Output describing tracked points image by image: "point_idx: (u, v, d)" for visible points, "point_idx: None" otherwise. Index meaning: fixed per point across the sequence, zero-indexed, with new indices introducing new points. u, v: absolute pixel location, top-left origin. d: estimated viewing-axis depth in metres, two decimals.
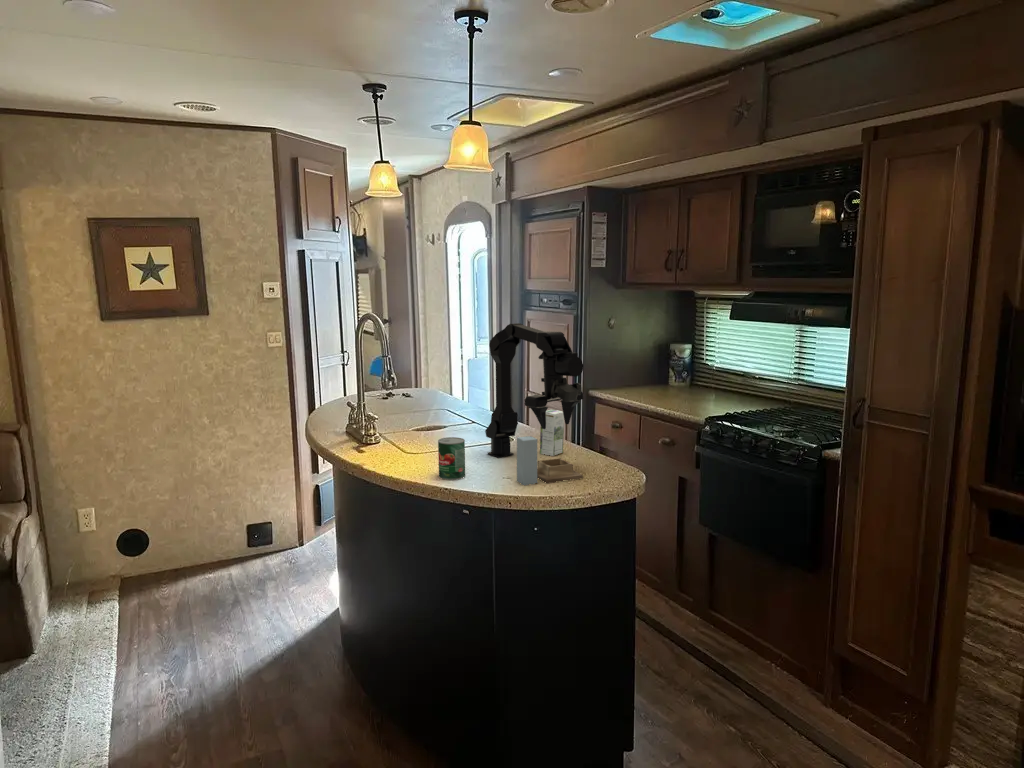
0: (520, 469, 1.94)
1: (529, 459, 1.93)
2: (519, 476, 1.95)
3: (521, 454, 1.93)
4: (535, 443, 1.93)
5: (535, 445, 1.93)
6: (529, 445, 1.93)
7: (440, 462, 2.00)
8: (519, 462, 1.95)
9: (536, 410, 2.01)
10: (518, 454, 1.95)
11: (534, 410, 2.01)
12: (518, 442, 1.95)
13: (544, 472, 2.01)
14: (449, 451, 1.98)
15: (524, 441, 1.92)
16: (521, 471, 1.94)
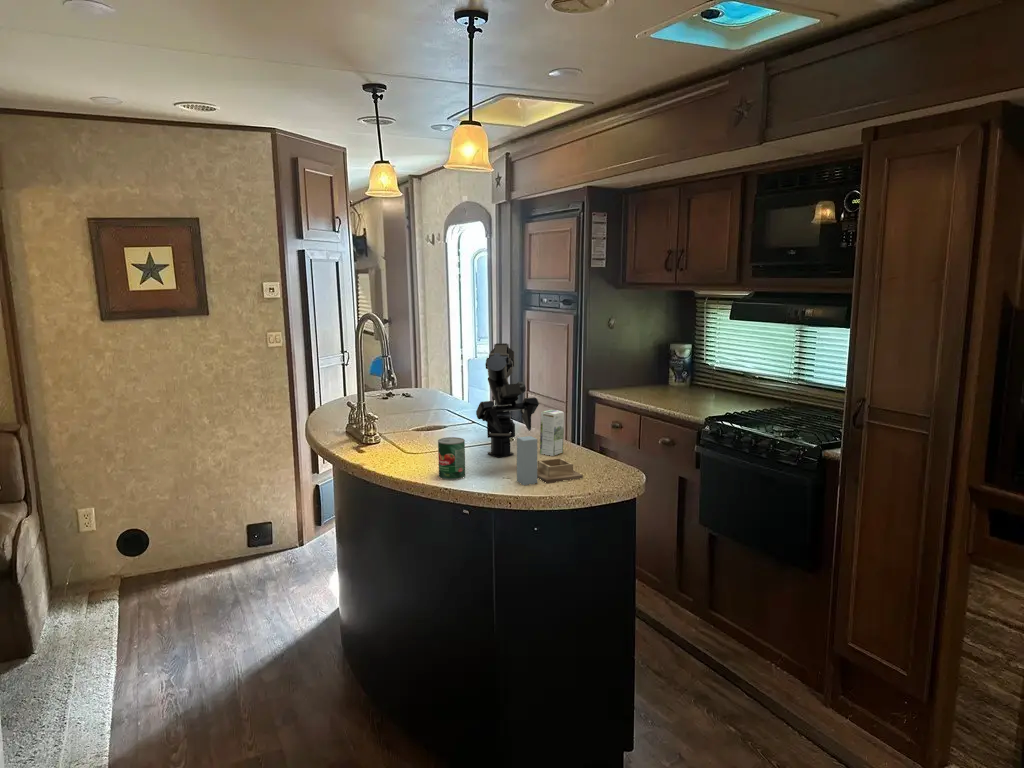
0: (520, 469, 1.94)
1: (529, 459, 1.93)
2: (519, 476, 1.95)
3: (521, 454, 1.93)
4: (535, 443, 1.93)
5: (535, 445, 1.93)
6: (529, 445, 1.93)
7: (440, 462, 2.00)
8: (519, 462, 1.95)
9: (490, 419, 2.03)
10: (518, 454, 1.95)
11: (488, 421, 2.03)
12: (518, 442, 1.95)
13: (544, 472, 2.01)
14: (449, 451, 1.98)
15: (524, 441, 1.92)
16: (521, 471, 1.94)
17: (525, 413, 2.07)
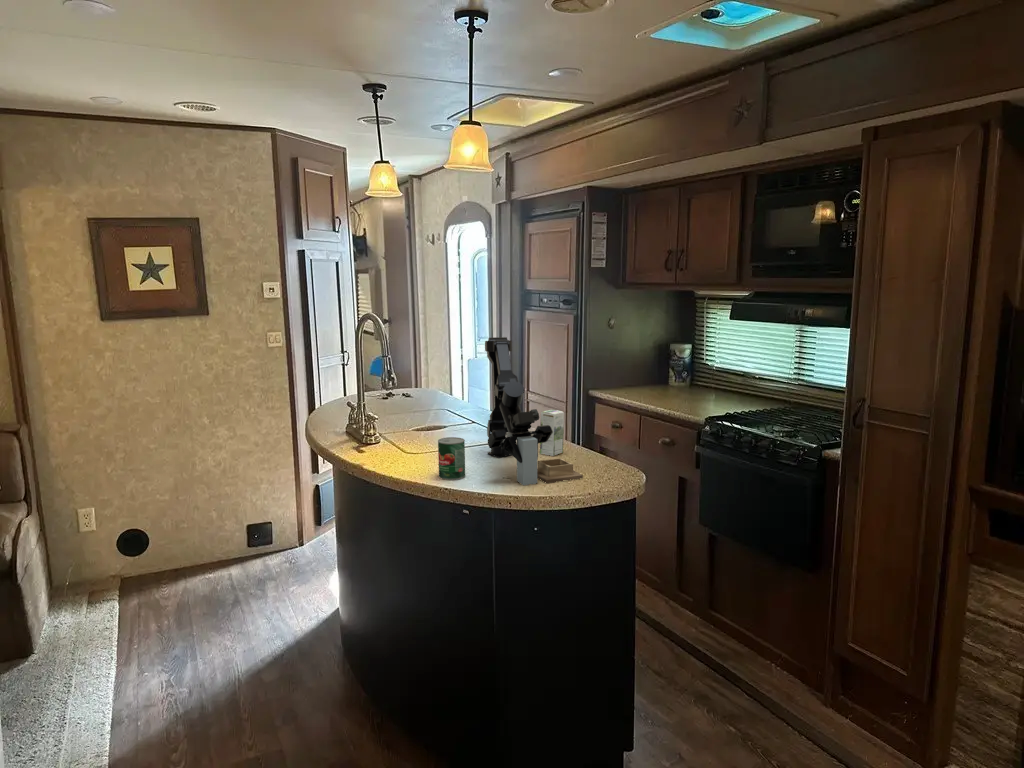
0: (520, 469, 1.94)
1: (529, 459, 1.93)
2: (519, 476, 1.95)
3: (521, 453, 1.93)
4: (535, 443, 1.93)
5: (535, 445, 1.93)
6: (530, 445, 1.93)
7: (440, 462, 2.00)
8: (519, 462, 1.95)
9: (509, 448, 1.96)
10: None
11: (508, 449, 1.97)
12: (518, 442, 1.95)
13: (544, 472, 2.01)
14: (449, 451, 1.98)
15: (524, 441, 1.92)
16: (521, 471, 1.94)
17: None
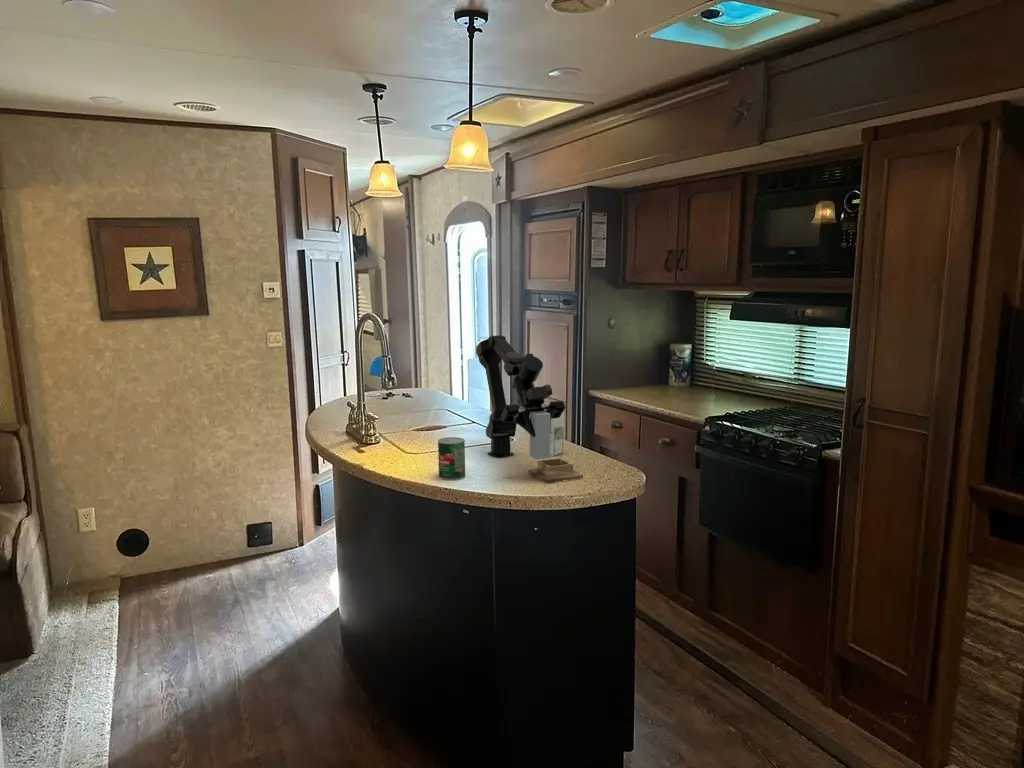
0: (533, 443, 1.97)
1: (542, 433, 1.95)
2: (532, 450, 1.98)
3: (534, 428, 1.95)
4: (548, 418, 1.95)
5: (548, 420, 1.96)
6: (542, 420, 1.95)
7: (440, 462, 2.00)
8: (532, 436, 1.97)
9: (522, 422, 1.99)
10: None
11: (521, 424, 1.99)
12: (531, 417, 1.97)
13: (544, 472, 2.01)
14: (449, 451, 1.98)
15: (537, 415, 1.94)
16: (534, 445, 1.96)
17: None
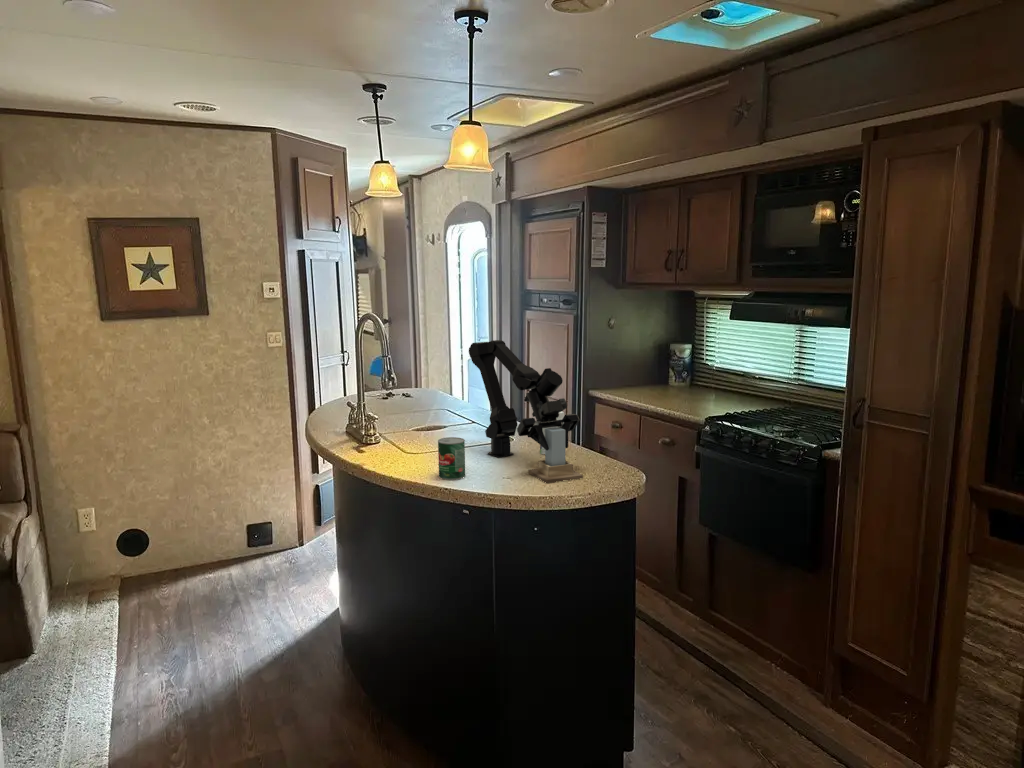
0: (549, 459, 2.01)
1: (557, 449, 2.00)
2: None
3: (550, 444, 2.00)
4: (563, 434, 2.00)
5: (563, 436, 2.00)
6: (558, 436, 2.00)
7: (440, 462, 2.00)
8: (548, 452, 2.02)
9: (535, 436, 2.03)
10: None
11: (534, 437, 2.03)
12: (546, 433, 2.02)
13: (544, 472, 2.01)
14: (449, 451, 1.98)
15: (553, 432, 1.99)
16: (550, 461, 2.01)
17: None
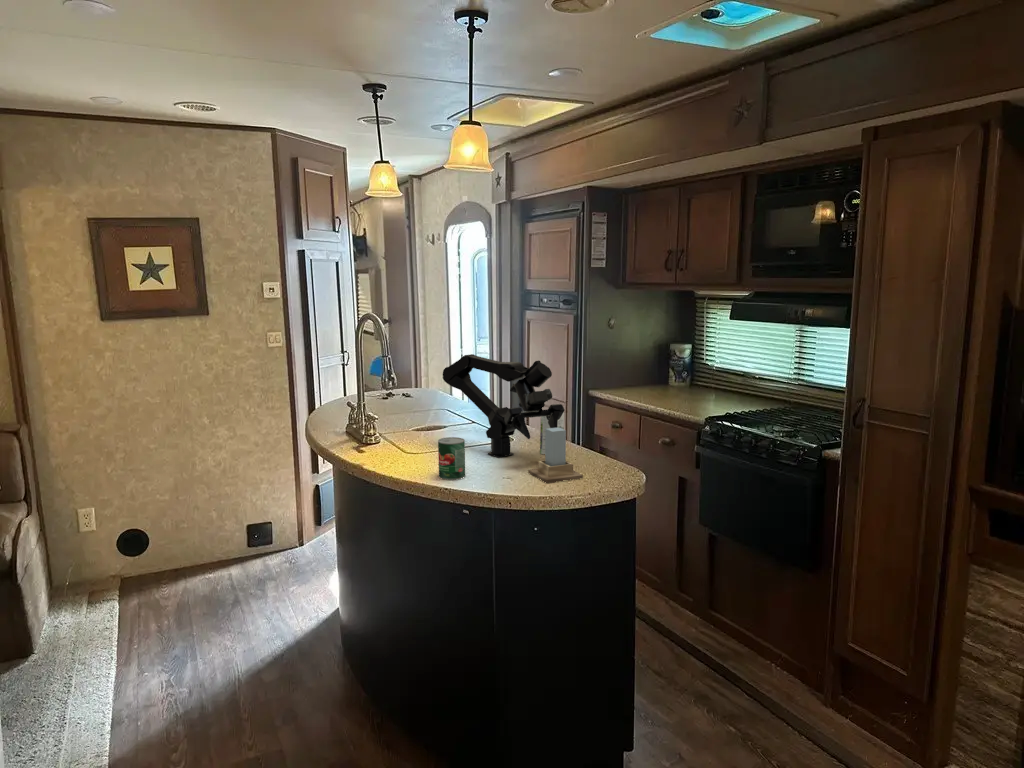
0: (549, 459, 2.01)
1: (558, 450, 2.00)
2: None
3: (550, 444, 2.00)
4: (564, 434, 2.00)
5: (563, 436, 2.00)
6: (558, 436, 1.99)
7: (440, 462, 2.00)
8: (548, 452, 2.02)
9: (518, 425, 2.11)
10: (547, 445, 2.02)
11: (516, 426, 2.11)
12: (547, 433, 2.01)
13: (544, 472, 2.01)
14: (449, 451, 1.98)
15: (553, 432, 1.99)
16: (550, 461, 2.01)
17: (551, 419, 2.14)
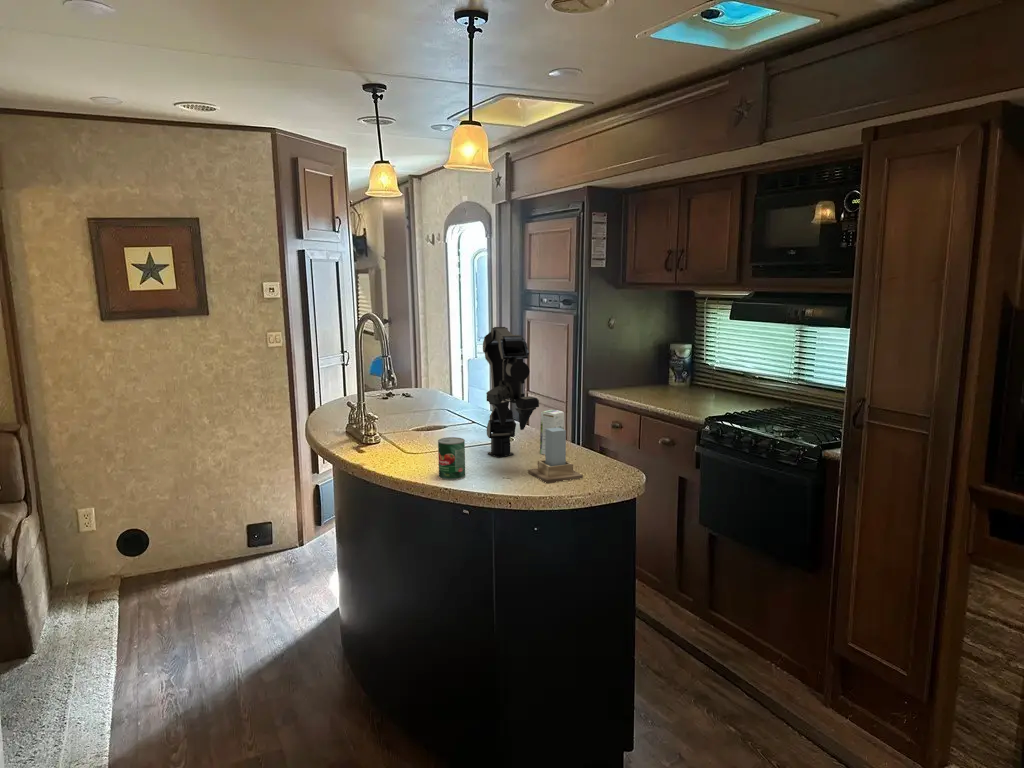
0: (549, 459, 2.01)
1: (558, 450, 2.00)
2: None
3: (550, 444, 2.00)
4: (564, 434, 2.00)
5: (563, 436, 2.00)
6: (558, 436, 1.99)
7: (440, 462, 2.00)
8: (548, 452, 2.02)
9: None
10: (547, 445, 2.02)
11: None
12: (547, 433, 2.01)
13: (544, 472, 2.01)
14: (449, 451, 1.98)
15: (553, 432, 1.99)
16: (550, 461, 2.01)
17: None
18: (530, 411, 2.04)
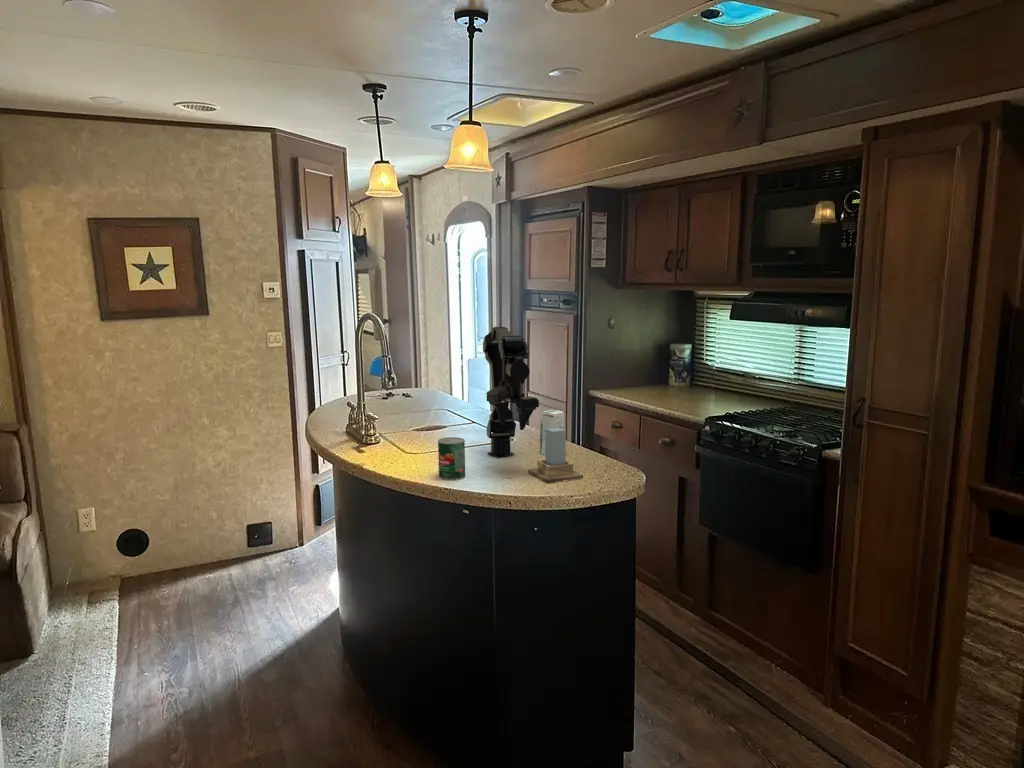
0: (549, 459, 2.01)
1: (558, 450, 2.00)
2: None
3: (550, 444, 2.00)
4: (564, 434, 2.00)
5: (563, 436, 2.00)
6: (558, 436, 1.99)
7: (440, 462, 2.00)
8: (548, 452, 2.02)
9: None
10: (547, 445, 2.02)
11: None
12: (547, 433, 2.01)
13: (544, 472, 2.01)
14: (449, 451, 1.98)
15: (553, 432, 1.99)
16: (550, 461, 2.01)
17: None
18: (530, 411, 2.04)
